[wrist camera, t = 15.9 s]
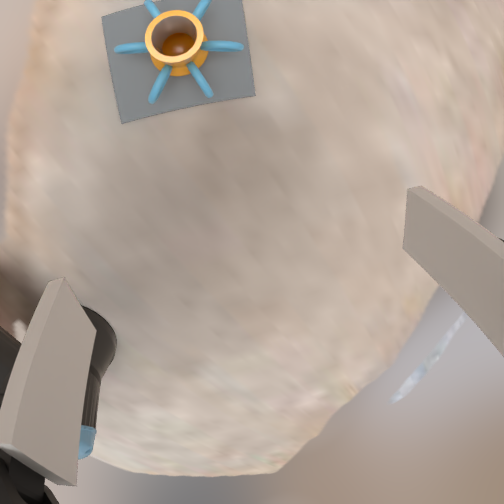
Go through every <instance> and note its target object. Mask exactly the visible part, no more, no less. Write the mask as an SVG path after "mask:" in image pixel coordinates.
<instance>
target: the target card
mask: <svg viewBox="0 0 504 504" xmlns="http://www.w3.org/2000/svg"><path fill="white" fill-rule="evenodd" d="M200 1H201V0H161V1H156V2H153V3H154V4H155V5H156V7H157V8H158V10H159V11H160V12H161V14H162V13H164V12H167V11H172V10H182V11H186V12H189V13H191V14H192V13H193V12H194V10H195V8H196V7H197V5H198V4H199V2H200ZM153 20H154V18H153V17H152V15H151V14H150V12H149V11H148V9H147V8H146V7H145V5H140V6H136V7H133V8H129V9H125V10H122V11H119V12H115V13H112V14H109V15H106V16H103V17H102V24H103V31H104V37H105V43H106V49H107V55H108V61H109V66H110V72H111V77H112V82H113V87H114V92H115V97H116V101H117V106H118V110H119V115H120V119H121V124H123V123H127V122H130V121H134V120H138V119H141V118H145V117H149V116H153V115H157V114H161V113H165V112H169V111H174V110H178V109H183V108H188V107H192V106H197V105H202V104H208V103H213V102H219V101H225V100H231V99H237V98H244V97H251V96H256V95H255V88H254V80H253V73H252V66H251V59H250V52H249V45H248V38H247V31H246V24H245V18H244V11H243V5H242V0H212V1H211V3H210V5H209V7H208V9H207V10H206V12H205V14H204V15H203V17H202V19H201V20H200V22H201V24H202V27H203V31H204V34H205V35H206V37H207V40H208V41H233V42H239V43H242V44H243V45H244V49H243V50H242V51H238V52H217V51H208V55H207V58H206V60H205V62H204V63H203V64H202V66H201V67H200V68H199V70H200V72H201V73H202V75H203V76H204V78H205V80H206V81H207V83H208V84H209V86H210V88H211V89H212V91H213V96H212V97H211V98H207V97H206V96H205V94H204V93H203V91H202V89H201V88H200V86H199V85H198V83H197V82H196V80H195V79H194V77H193V76H192V74H189V75H185V76H169V78H168V80H167V82H166V84H165V86H164V88H163V90H162V92H161V94H160V96H159V98H158V99H157V101H156V102H155V103H154V104H150V103H149V102H148V97H149V94H150V92H151V89H152V87H153V85H154V83H155V81H156V79H157V77H158V75H159V73H160V71H159V70H158V69H157V68H156V67H155V65H154V64H153V62H152V60H151V57H150V53H149V52H147V53H135V54H117V53H115V52H114V48H115V47H116V46H118V45H121V44H126V43H135V42H145V33H146V30H147V28H148V26H149V24H150V23H151V22H152V21H153Z"/></svg>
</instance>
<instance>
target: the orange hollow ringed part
mask: <svg viewBox="0 0 504 504" xmlns="http://www.w3.org/2000/svg"><path fill="white" fill-rule="evenodd" d="M211 1H212V0H201V1H200V2H199V4H198V5H197V7H196V8H195V10H194V12H193V13H192V14H191V13H189V12H186V11H182V10H172V11H167V12H164V13H162V14H161V12H160V11H159V10H158V8H157V7H156V5H155V4H154V3H153V2H152V0H145V2H144V5H145V7H146V8H147V9H148V11H149V12H150V14H151V15H152V17H153V18H154V20H153V21H152V22H151V23H150V24H149V26H148V28H147V30H146V33H145V42H135V43H126V44H121V45H118V46H116V47H115V48H114V52H115V53H117V54H135V53H147V52H149V53H150V57H151V60H152V62H153V64H154V65H155V67H156V68H157V69H158V70H159V71H160V73H159V75H158V77H157V79H156V81H155V83H154V85H153V87H152V89H151V92H150V94H149V97H148V102H149V103H150V104H154V103H155V102H156V101H157V99H158V98H159V96H160V94H161V92H162V90H163V88H164V86H165V84H166V82H167V80H168V78H169V76H185V75H189V74H192V76H193V77H194V79H195V80H196V82H197V83H198V85H199V86H200V88H201V89H202V91H203V93H204V94H205V96H206V97H207V98H211V97H212V96H213V91H212V89H211V88H210V86H209V84H208V83H207V81H206V80H205V78H204V76H203V75H202V73H201V72H200V70H199V68H200V67H201V66H202V64H203V63H204V62H205V60H206V58H207V55H208V51H217V52H238V51H242V50H243V49H244V45H243V44H242V43H239V42H233V41H208V40H207V37H206V35H205V34H204V31H203V27H202V24H201V22H200V20H201V19H202V17H203V15H204V14H205V12H206V10H207V9H208V7H209V5H210V3H211Z"/></svg>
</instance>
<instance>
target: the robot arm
mask: <svg viewBox="0 0 504 504" xmlns="http://www.w3.org/2000/svg"><path fill="white" fill-rule="evenodd" d="M403 249H404V250H405V251H406V252H407V253H408V254H409V255H410V256H411V257H412V258H413V259H414V260H415V261H416V262H417V263H418V264H419V265H420V266H421V267H422V268H423V269H424V270H425V271H426V272H427V273H428V274H429V275H430V276H431V277H432V278H433V279H434V280H435V281H436V282H437V283H438V284H439V285H440V286H441V287H442V288H443V289H444V290H445V291H446V292H447V293H448V294H449V295H450V296H451V297H452V298H453V299H454V301H455V302H456V303H457V304H458V305H459V306H460V307H461V308H462V309H463V310H464V311H465V313H466V314H467V315H468V316H469V317H470V318H471V319H472V320H473V321H474V323H476V325H477V326H478V327H479V328H480V329H481V331H483V333H484V334H485V335H486V336H487V338H488V339H489V340H490V341H491V342H492V344H493V345H494V346H495V347H496V348H497V350H498V351H499V352H500V353H501V354H502V356H503V357H504V240H502V239H500V238H498V237H496V236H495V235H494V234H492V233H491V232H490V231H488V230H487V229H486V228H484V227H483V226H481V225H480V224H479V223H477V222H476V221H474V220H473V219H472V218H470V217H469V216H467V215H466V214H464V213H463V212H462V211H460V210H459V209H457V208H456V207H454V206H453V205H451V204H450V203H448V202H447V201H445V200H443V199H442V198H440V197H439V196H437V195H436V194H434V193H433V192H431V191H429V190H428V189H426V188H424V187H423V186H418V187H414V188H409V189H407V202H406V217H405V229H404V240H403ZM115 351H116V336H115V334H114V331H113V330H112V328H111V327H110V325H109V324H108V323H107V322H106V321H105V320H104V319H103V318H102V317H101V316H99V315H98V314H96V313H95V312H93V311H91V310H89V309H87V308H85V307H82V306H81V305H80V303H79V302H78V300H77V298H76V296H75V295H74V293H73V291H72V290H71V288H70V286H69V284H68V283H67V281H66V279H65V277H62V278H59V279H56V280H52V281H49V282H48V284H47V286H46V288H45V290H44V292H43V295H42V297H41V299H40V301H39V303H38V306H37V308H36V310H35V312H34V315H33V317H32V319H31V322H30V324H29V327H28V329H27V332H26V334H25V337H24V339H23V342H22V344H21V343H20V342H19V341H18V340H16V339H15V338H14V337H13V336H12V335H10V334H9V333H8V332H7V331H6V330H5V329H3V328H2V327H1V326H0V504H59V502H58V501H57V499H56V498H55V496H54V495H53V493H52V491H51V490H50V489H49V488H48V487H47V486H46V485H44V482H45V478H46V479H48V480H50V481H52V482H54V483H55V484H57V485H66V486H77V469H78V459H83V458H85V457H87V456H88V455H90V453H91V452H92V450H93V445H94V439H95V434H96V420H97V409H98V400H99V392H100V384H101V379H102V377H103V375H104V373H105V371H106V370H107V368H108V366H109V365H110V363H111V362H112V360H113V358H114V356H115Z"/></svg>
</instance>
